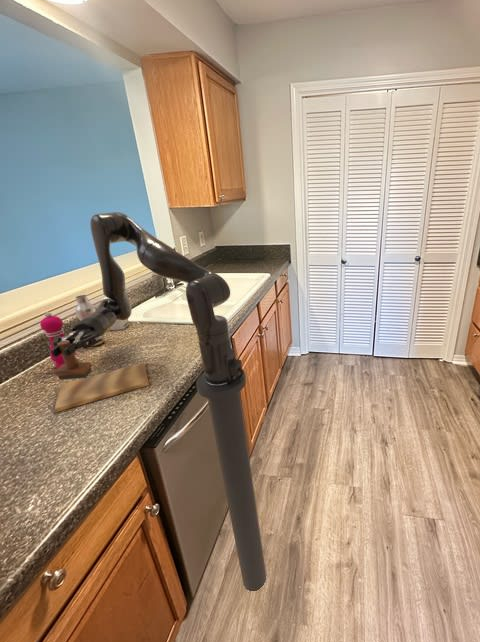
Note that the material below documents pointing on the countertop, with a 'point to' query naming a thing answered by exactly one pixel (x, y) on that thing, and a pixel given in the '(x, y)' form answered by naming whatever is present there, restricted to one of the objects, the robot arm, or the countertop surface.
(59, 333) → the pepper mill
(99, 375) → the cutting board
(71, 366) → the scrub brush
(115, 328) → the syrup box
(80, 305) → the plastic bottle
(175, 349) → the countertop surface
